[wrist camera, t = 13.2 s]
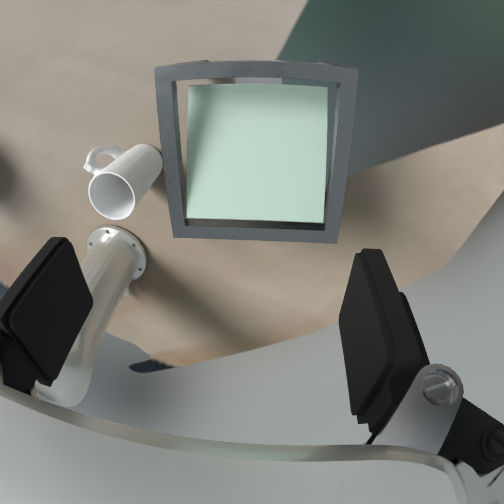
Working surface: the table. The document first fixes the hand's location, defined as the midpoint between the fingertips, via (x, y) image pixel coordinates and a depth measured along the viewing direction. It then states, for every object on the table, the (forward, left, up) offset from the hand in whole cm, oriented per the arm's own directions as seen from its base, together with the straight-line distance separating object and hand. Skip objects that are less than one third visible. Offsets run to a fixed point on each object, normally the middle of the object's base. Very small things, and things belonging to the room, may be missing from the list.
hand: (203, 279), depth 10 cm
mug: (-8, +19, -36) cm, 42 cm away
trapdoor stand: (-3, 0, -36) cm, 36 cm away
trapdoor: (-4, 0, -24) cm, 24 cm away
